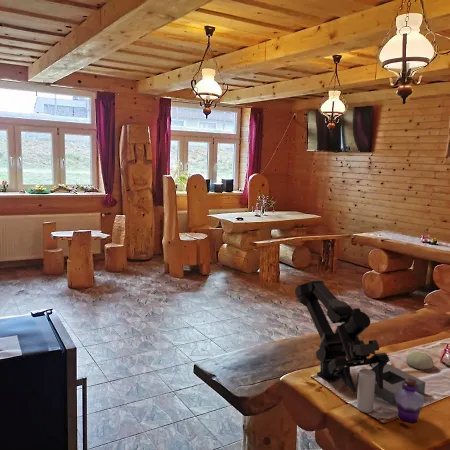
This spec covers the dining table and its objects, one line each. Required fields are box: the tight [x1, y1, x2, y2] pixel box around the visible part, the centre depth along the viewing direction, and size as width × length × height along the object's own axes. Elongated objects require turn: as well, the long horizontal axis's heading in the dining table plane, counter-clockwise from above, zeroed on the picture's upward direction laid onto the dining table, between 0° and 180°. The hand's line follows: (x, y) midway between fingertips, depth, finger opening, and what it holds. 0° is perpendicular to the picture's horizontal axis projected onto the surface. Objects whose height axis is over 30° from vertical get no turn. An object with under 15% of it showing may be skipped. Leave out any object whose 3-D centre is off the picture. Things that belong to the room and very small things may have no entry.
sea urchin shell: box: [405, 351, 434, 371], centre depth 166 cm, size 9×8×8 cm
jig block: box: [356, 363, 426, 406], centre depth 148 cm, size 15×15×4 cm
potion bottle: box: [394, 378, 425, 424], centre depth 131 cm, size 9×9×12 cm
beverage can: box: [356, 368, 375, 414], centre depth 135 cm, size 5×5×12 cm
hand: (368, 390), depth 133 cm, fingers open, 9 cm apart
